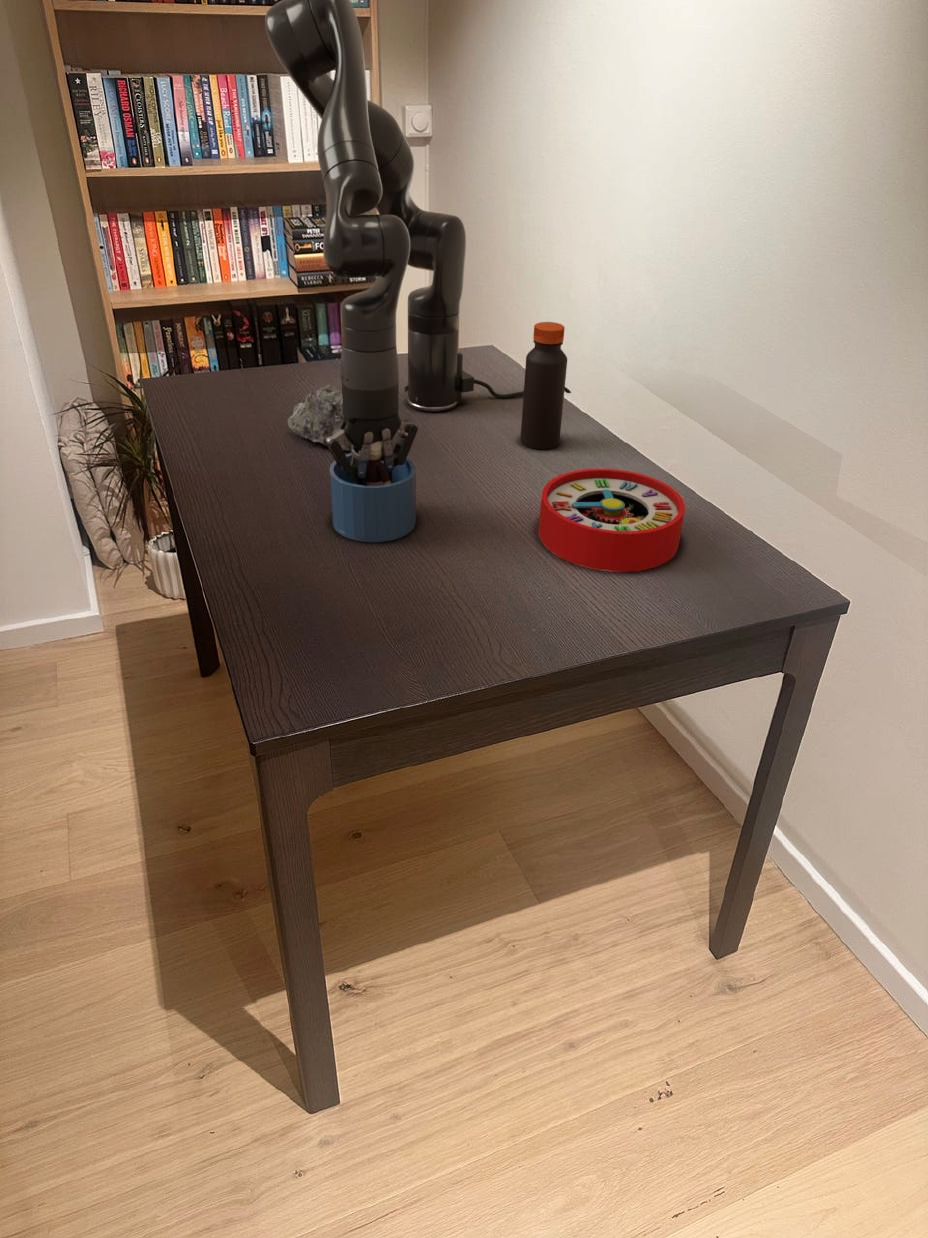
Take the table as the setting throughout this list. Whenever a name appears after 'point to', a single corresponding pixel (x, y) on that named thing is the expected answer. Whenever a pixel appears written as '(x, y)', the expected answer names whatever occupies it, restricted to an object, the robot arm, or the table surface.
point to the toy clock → (611, 519)
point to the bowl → (374, 505)
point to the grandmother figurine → (376, 467)
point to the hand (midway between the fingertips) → (373, 495)
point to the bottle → (544, 387)
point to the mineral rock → (319, 415)
